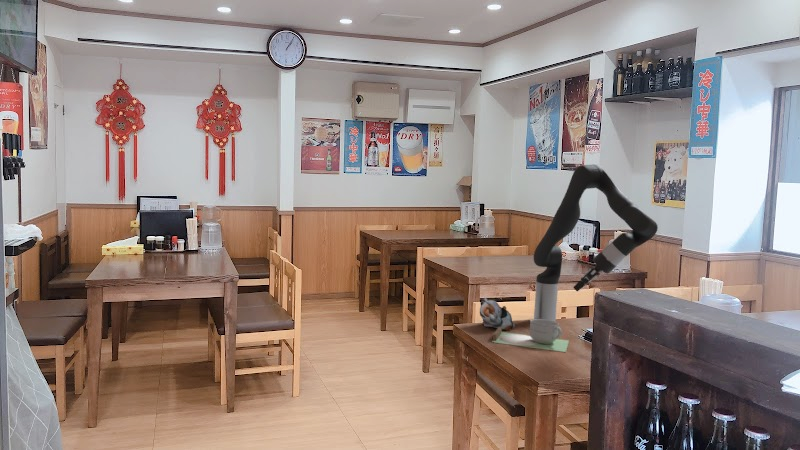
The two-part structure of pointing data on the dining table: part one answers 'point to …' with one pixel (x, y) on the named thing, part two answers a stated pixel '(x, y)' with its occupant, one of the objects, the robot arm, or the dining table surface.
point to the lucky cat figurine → (495, 315)
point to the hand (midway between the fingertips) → (577, 288)
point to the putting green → (527, 341)
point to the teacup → (544, 331)
